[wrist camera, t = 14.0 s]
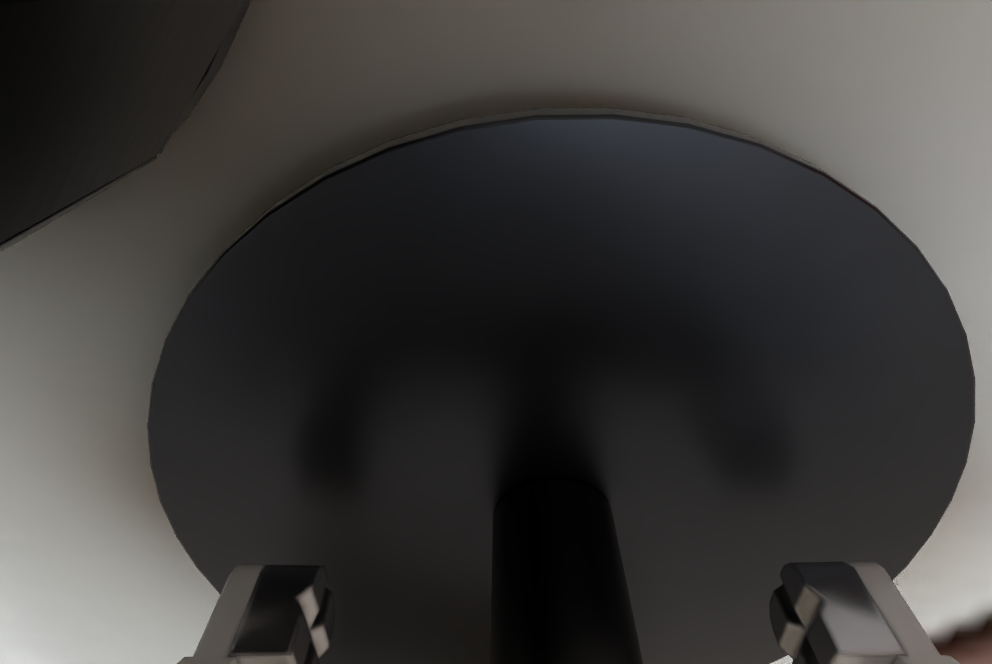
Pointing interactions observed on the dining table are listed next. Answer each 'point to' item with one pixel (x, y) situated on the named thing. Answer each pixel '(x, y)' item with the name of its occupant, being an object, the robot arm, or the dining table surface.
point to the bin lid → (562, 392)
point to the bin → (96, 94)
